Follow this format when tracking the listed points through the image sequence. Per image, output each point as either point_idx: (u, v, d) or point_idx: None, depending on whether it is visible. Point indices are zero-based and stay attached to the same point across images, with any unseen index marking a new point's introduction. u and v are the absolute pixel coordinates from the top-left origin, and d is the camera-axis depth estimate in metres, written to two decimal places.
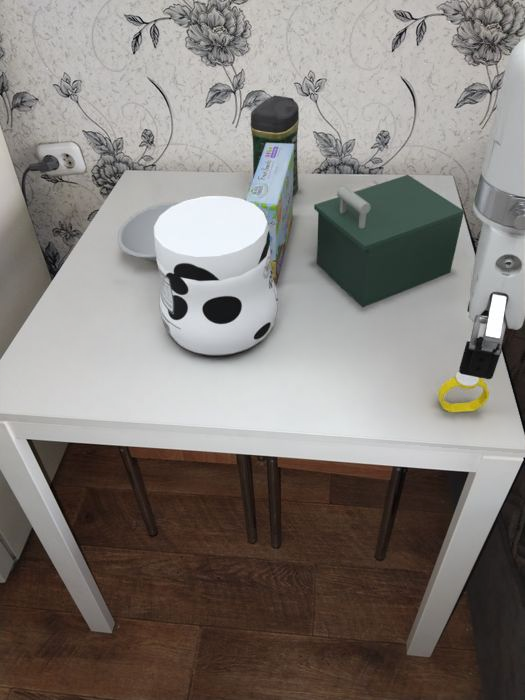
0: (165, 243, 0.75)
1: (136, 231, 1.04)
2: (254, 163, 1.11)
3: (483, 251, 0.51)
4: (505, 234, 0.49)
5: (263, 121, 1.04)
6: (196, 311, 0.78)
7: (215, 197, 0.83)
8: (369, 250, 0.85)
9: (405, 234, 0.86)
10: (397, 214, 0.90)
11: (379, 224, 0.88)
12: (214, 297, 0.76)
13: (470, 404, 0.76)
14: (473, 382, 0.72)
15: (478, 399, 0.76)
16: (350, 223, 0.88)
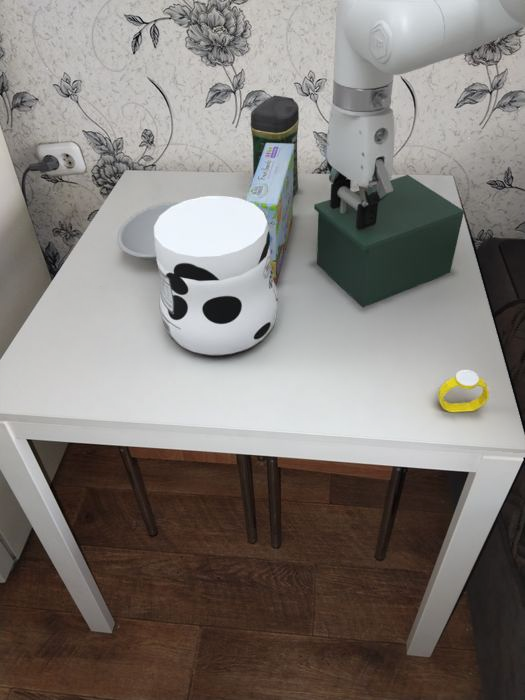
0: (165, 243, 0.75)
1: (136, 231, 1.04)
2: (254, 163, 1.11)
3: (362, 134, 0.76)
4: (373, 116, 0.74)
5: (264, 121, 1.04)
6: (196, 311, 0.78)
7: (215, 197, 0.83)
8: (369, 250, 0.85)
9: (405, 234, 0.86)
10: (397, 214, 0.90)
11: (379, 224, 0.88)
12: (214, 297, 0.76)
13: (470, 404, 0.76)
14: (473, 382, 0.72)
15: (478, 399, 0.76)
16: (350, 223, 0.88)
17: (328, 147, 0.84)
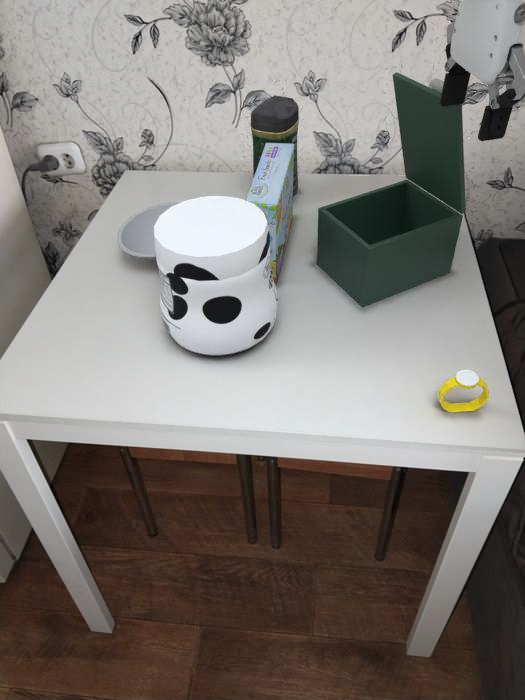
0: (165, 243, 0.75)
1: (136, 231, 1.04)
2: (254, 163, 1.11)
3: (498, 10, 0.60)
4: None
5: (263, 121, 1.04)
6: (196, 311, 0.78)
7: (215, 197, 0.83)
8: (369, 250, 0.85)
9: (461, 151, 0.82)
10: None
11: None
12: (214, 297, 0.76)
13: (470, 404, 0.76)
14: (473, 382, 0.72)
15: (478, 399, 0.76)
16: None
17: (454, 34, 0.69)
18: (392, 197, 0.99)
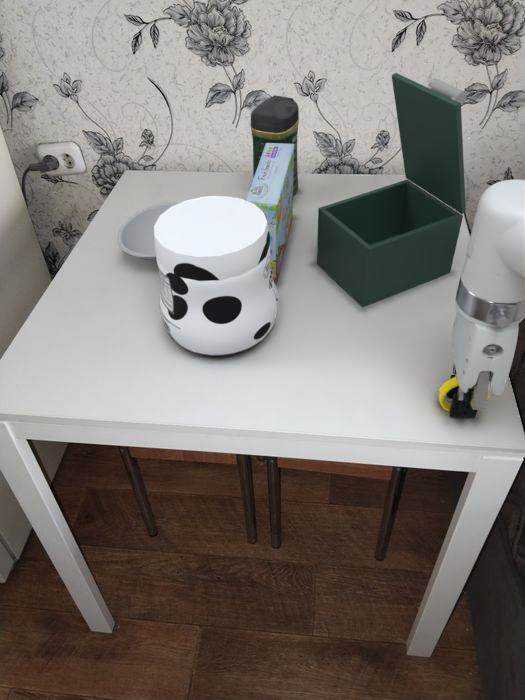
0: (165, 243, 0.75)
1: (136, 231, 1.04)
2: (254, 163, 1.11)
3: (470, 341, 0.64)
4: (488, 329, 0.62)
5: (264, 121, 1.04)
6: (196, 311, 0.78)
7: (215, 197, 0.83)
8: (369, 250, 0.85)
9: (460, 152, 0.82)
10: None
11: None
12: (214, 297, 0.76)
13: None
14: None
15: None
16: None
17: (453, 327, 0.73)
18: (392, 197, 0.99)
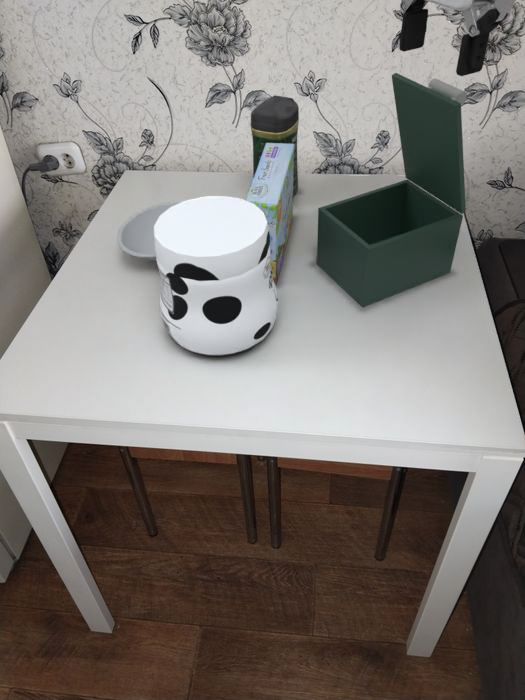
0: (165, 243, 0.75)
1: (136, 231, 1.04)
2: (254, 163, 1.11)
3: None
4: None
5: (264, 121, 1.04)
6: (196, 311, 0.78)
7: (215, 197, 0.83)
8: (369, 250, 0.85)
9: (460, 152, 0.82)
10: None
11: None
12: (214, 297, 0.76)
13: None
14: None
15: None
16: None
17: None
18: (392, 197, 0.99)
